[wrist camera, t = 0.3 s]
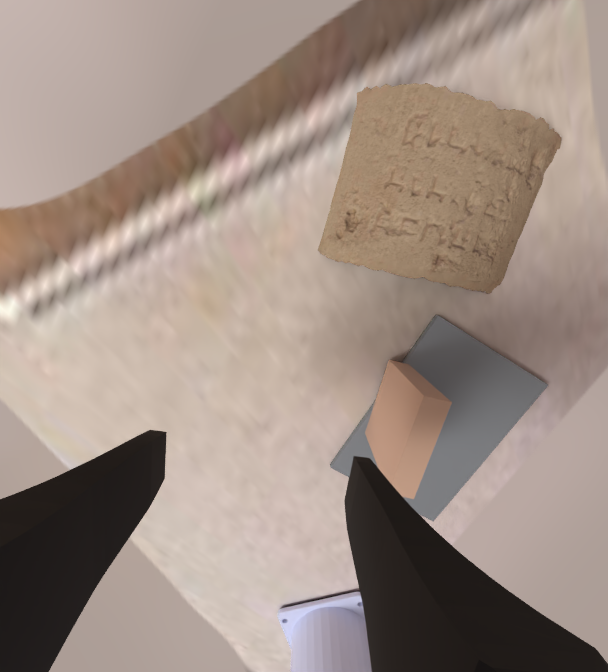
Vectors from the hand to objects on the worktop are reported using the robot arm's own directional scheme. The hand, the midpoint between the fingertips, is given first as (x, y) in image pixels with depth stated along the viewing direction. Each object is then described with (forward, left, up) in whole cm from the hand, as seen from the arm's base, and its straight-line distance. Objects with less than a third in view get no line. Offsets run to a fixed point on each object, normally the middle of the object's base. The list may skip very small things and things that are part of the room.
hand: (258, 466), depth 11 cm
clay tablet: (+8, -13, -11) cm, 19 cm away
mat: (-7, -10, -10) cm, 16 cm away
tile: (-4, -7, -10) cm, 13 cm away
